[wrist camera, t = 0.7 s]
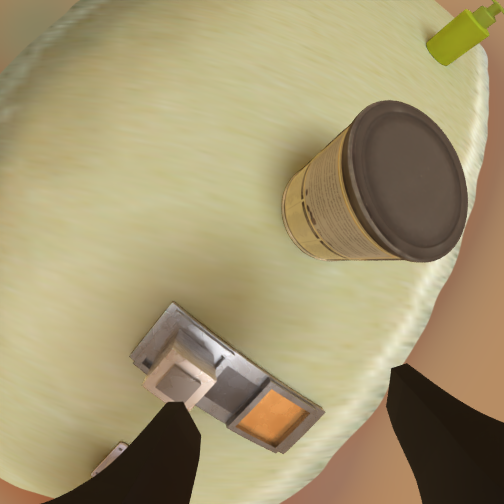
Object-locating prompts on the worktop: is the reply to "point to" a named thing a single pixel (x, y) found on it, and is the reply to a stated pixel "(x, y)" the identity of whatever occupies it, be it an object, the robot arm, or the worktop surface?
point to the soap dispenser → (463, 33)
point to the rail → (236, 386)
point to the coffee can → (380, 191)
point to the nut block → (181, 371)
